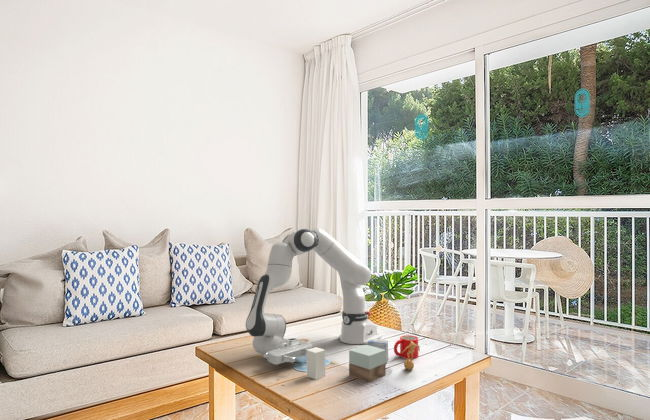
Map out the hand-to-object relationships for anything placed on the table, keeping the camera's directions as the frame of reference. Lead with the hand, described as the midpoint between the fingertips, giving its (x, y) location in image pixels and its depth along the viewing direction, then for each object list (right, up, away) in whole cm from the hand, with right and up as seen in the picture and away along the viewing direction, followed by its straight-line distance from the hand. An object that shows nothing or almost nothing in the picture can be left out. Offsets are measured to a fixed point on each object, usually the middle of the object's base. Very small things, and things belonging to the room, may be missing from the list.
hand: (303, 357), depth 169 cm
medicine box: (+31, -6, +11) cm, 34 cm away
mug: (+44, -6, +17) cm, 47 cm away
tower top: (+25, -1, -5) cm, 26 cm away
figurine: (+43, -5, 0) cm, 43 cm away
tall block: (+5, -5, -5) cm, 9 cm away
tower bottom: (+25, -6, -5) cm, 26 cm away
